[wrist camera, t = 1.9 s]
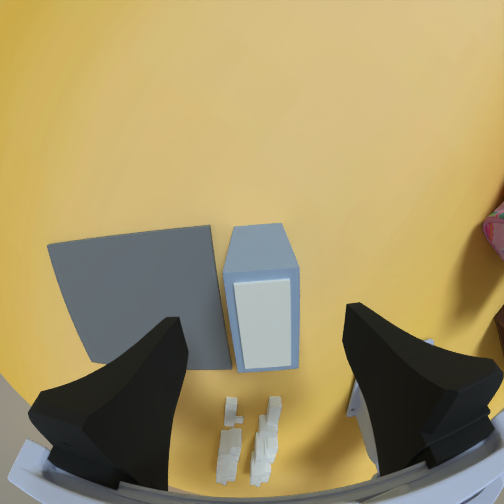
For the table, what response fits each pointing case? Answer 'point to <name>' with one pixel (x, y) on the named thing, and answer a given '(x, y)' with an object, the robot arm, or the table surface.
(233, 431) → the modular blocks
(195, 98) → the table surface
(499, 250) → the pencil case
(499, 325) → the diary
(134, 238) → the mat
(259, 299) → the block
